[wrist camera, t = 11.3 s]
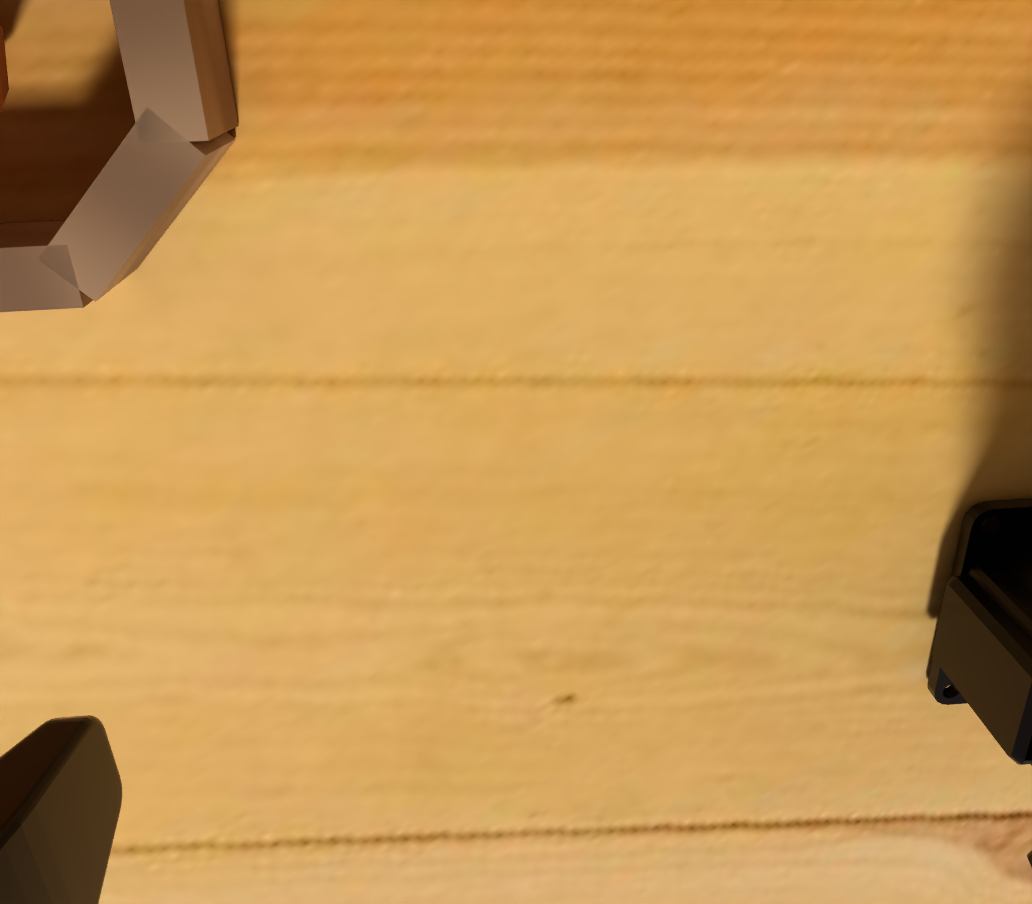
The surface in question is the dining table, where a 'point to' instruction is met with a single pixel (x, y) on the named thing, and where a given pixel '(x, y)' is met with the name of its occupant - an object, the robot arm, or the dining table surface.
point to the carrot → (3, 71)
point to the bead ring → (133, 161)
